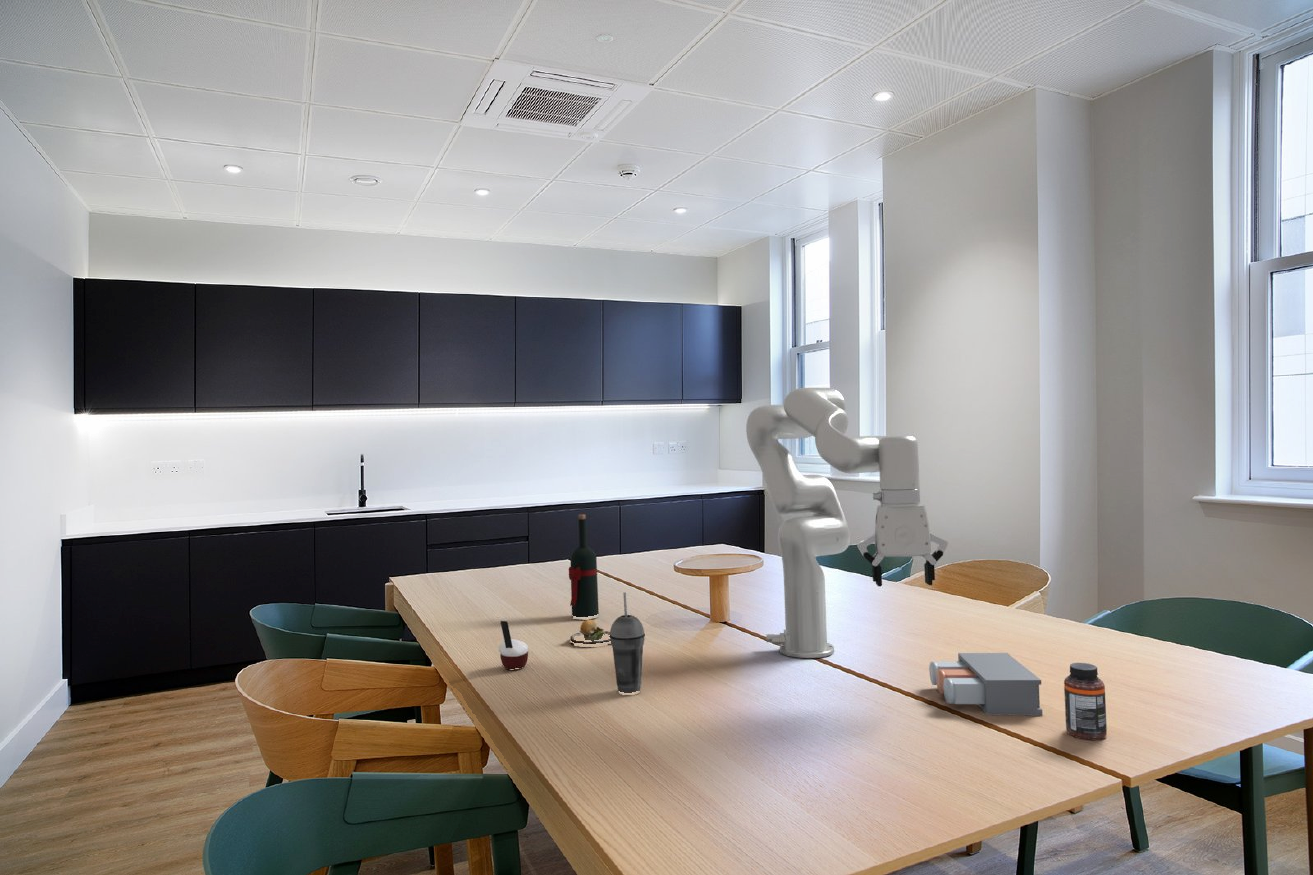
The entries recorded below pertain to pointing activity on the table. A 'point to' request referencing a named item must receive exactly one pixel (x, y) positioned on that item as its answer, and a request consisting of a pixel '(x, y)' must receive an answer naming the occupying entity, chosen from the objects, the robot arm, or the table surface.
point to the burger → (590, 633)
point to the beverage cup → (627, 651)
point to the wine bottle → (583, 576)
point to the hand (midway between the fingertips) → (903, 584)
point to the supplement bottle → (1085, 702)
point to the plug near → (964, 691)
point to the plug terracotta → (951, 676)
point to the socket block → (1004, 684)
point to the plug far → (944, 668)
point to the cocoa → (512, 650)
